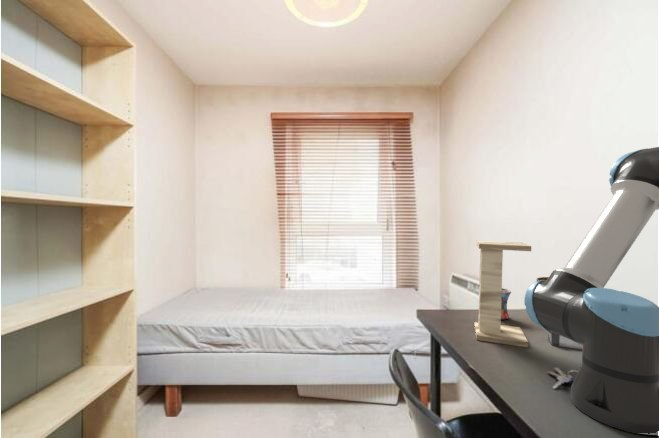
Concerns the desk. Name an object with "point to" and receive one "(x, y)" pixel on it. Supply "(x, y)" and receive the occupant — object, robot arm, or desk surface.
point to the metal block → (562, 341)
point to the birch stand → (495, 295)
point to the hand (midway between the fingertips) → (593, 308)
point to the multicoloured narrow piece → (504, 303)
